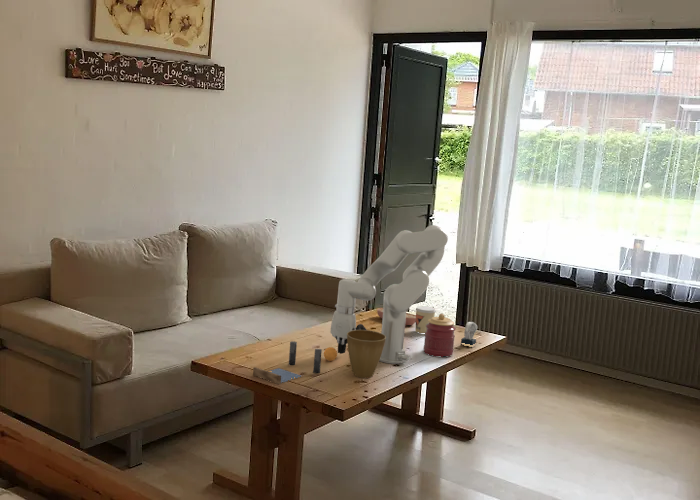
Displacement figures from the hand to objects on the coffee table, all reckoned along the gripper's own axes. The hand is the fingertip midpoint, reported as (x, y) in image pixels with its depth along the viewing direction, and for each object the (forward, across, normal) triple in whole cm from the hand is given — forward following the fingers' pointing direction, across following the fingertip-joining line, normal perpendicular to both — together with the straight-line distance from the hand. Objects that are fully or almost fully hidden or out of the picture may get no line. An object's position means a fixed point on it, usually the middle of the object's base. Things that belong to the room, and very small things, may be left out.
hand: (341, 352), depth 314 cm
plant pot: (+2, +21, -12) cm, 24 cm away
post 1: (+2, -6, -24) cm, 25 cm away
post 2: (+2, +7, -24) cm, 25 cm away
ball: (-1, 0, -8) cm, 8 cm away
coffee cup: (+1, -1, +64) cm, 64 cm away
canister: (+1, +23, +39) cm, 45 cm away
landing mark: (+2, +1, -38) cm, 38 cm away
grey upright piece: (+1, +25, +62) cm, 67 cm away
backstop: (+2, +1, -45) cm, 45 cm away
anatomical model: (+2, -21, +69) cm, 72 cm away
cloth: (+3, -15, +34) cm, 37 cm away
